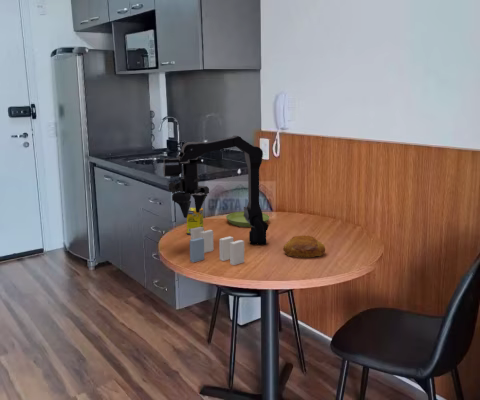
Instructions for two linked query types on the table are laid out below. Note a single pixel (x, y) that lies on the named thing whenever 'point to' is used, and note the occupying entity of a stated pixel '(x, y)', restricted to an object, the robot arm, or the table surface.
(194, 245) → the domino
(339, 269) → the table surface
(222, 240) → the domino
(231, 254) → the domino
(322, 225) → the table surface
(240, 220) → the saucer
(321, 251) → the croissant
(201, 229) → the domino
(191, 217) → the supplement box
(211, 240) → the domino
